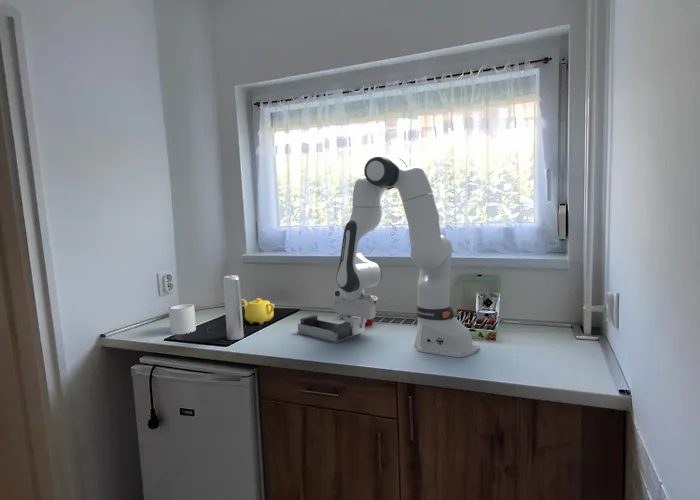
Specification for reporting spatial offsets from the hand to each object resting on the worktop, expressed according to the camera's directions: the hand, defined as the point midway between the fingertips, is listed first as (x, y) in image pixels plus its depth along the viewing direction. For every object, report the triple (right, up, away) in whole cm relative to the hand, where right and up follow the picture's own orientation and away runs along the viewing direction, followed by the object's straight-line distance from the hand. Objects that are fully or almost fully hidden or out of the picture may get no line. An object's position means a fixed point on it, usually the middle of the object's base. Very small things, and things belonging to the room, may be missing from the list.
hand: (354, 326), depth 176 cm
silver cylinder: (-48, -5, -1) cm, 48 cm away
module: (0, -2, 0) cm, 2 cm away
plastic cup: (+5, -1, +11) cm, 12 cm away
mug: (-74, -4, +14) cm, 76 cm away
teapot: (-43, -2, +23) cm, 49 cm away
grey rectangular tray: (-12, -3, -2) cm, 12 cm away
